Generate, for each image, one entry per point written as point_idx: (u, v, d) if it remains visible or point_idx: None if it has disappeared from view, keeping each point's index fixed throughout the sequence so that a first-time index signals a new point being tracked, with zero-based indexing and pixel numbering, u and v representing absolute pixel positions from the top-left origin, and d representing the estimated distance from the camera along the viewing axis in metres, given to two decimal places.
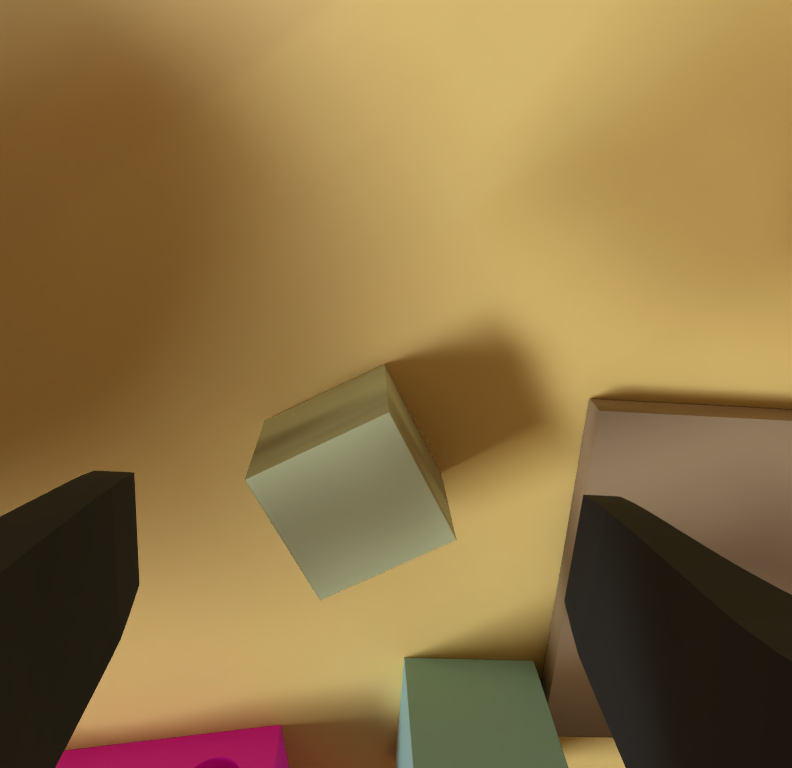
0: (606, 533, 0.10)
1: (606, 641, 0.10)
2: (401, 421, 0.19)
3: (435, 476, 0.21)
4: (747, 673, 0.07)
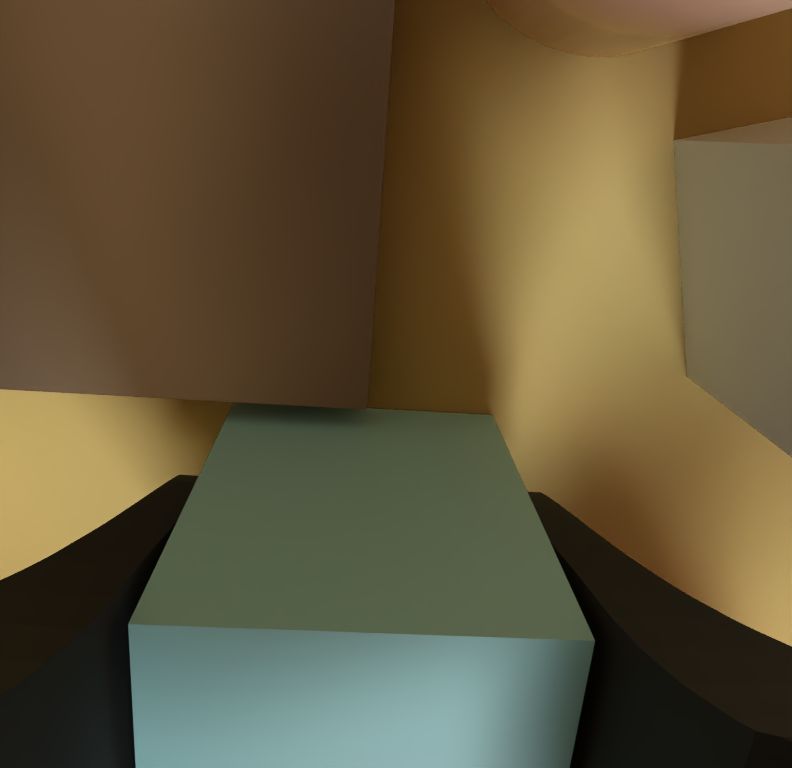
0: None
1: None
2: None
3: None
4: (618, 669, 0.07)
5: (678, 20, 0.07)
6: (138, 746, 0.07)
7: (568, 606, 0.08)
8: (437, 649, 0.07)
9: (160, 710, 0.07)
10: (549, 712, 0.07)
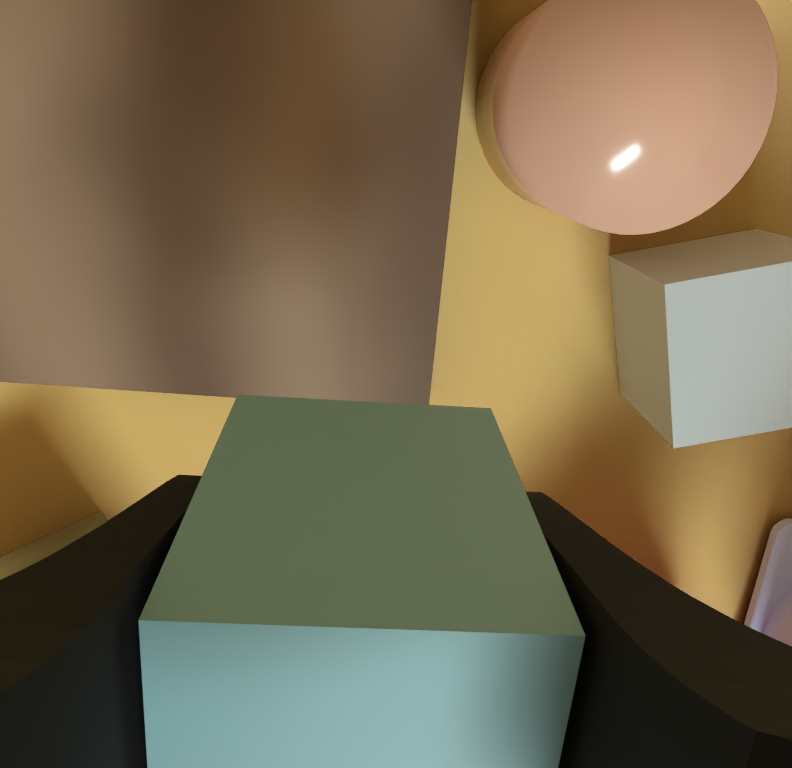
0: None
1: None
2: None
3: (56, 550, 0.20)
4: (619, 669, 0.07)
5: None
6: (148, 734, 0.08)
7: (560, 602, 0.08)
8: (434, 643, 0.07)
9: (169, 700, 0.08)
10: (542, 703, 0.08)
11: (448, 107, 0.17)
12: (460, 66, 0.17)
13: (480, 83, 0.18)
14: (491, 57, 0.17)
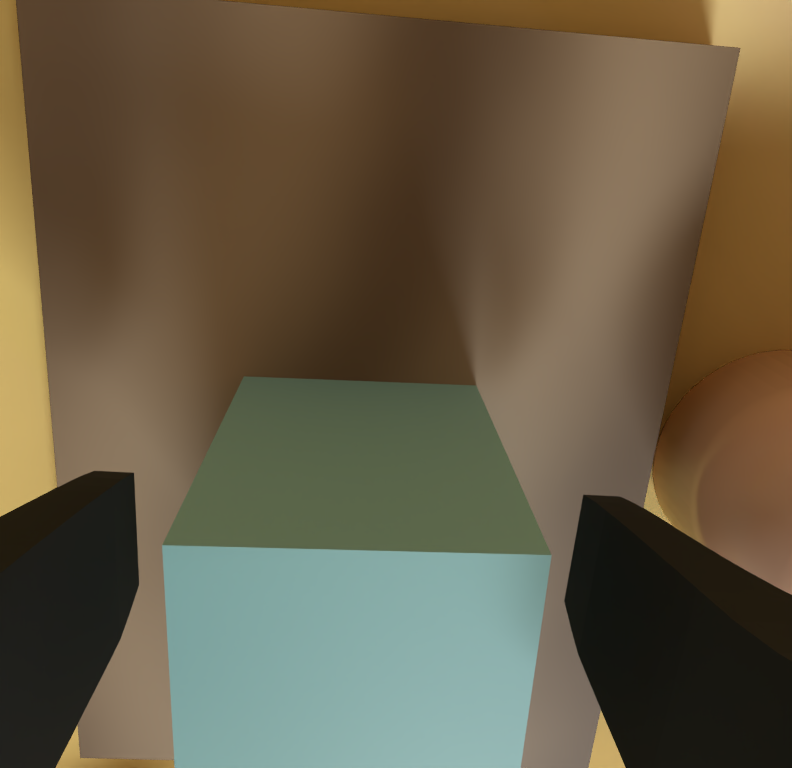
0: (606, 533, 0.10)
1: (606, 641, 0.10)
2: None
3: None
4: (747, 673, 0.07)
5: None
6: (171, 651, 0.09)
7: (531, 531, 0.09)
8: (419, 563, 0.08)
9: (189, 620, 0.09)
10: (516, 619, 0.09)
11: (634, 483, 0.15)
12: (651, 444, 0.15)
13: (662, 439, 0.16)
14: (679, 419, 0.15)
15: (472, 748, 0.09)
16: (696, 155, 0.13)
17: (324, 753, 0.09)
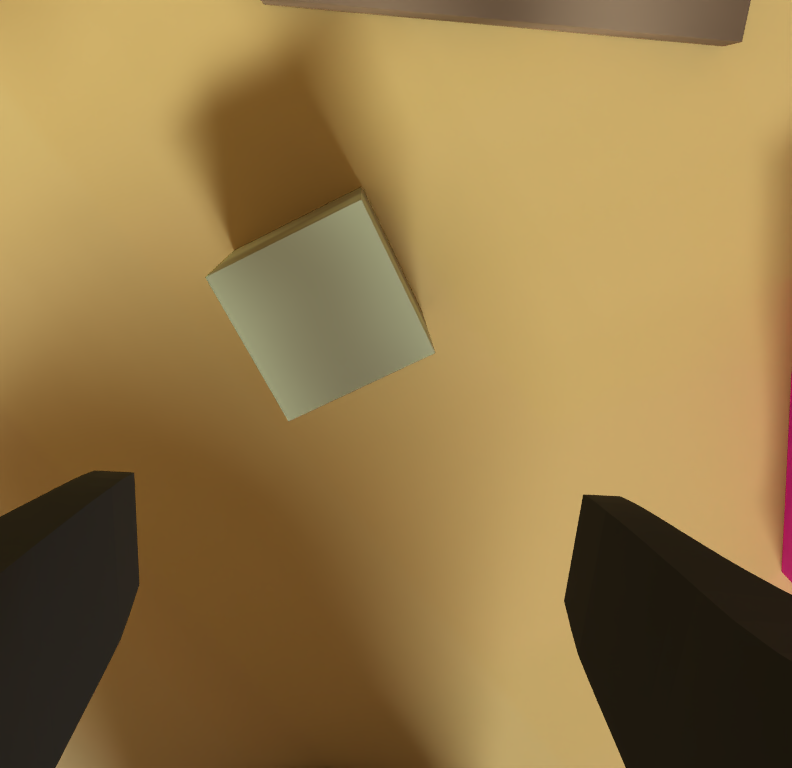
0: (606, 533, 0.10)
1: (606, 641, 0.10)
2: (246, 252, 0.18)
3: (334, 205, 0.18)
4: (747, 673, 0.07)
5: None
6: None
7: None
8: None
9: None
10: None
11: None
12: None
13: None
14: None
15: None
16: None
17: None
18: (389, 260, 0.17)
